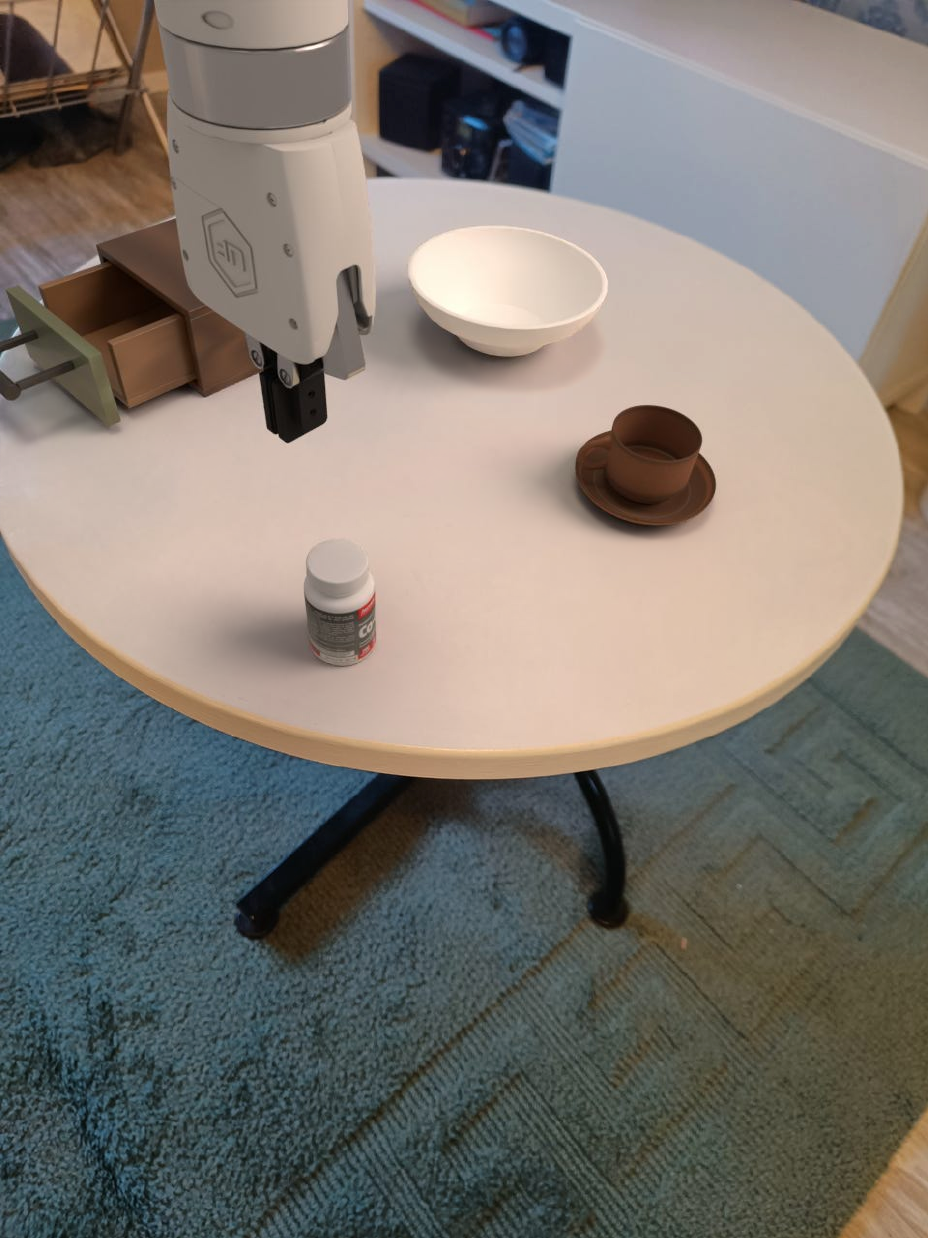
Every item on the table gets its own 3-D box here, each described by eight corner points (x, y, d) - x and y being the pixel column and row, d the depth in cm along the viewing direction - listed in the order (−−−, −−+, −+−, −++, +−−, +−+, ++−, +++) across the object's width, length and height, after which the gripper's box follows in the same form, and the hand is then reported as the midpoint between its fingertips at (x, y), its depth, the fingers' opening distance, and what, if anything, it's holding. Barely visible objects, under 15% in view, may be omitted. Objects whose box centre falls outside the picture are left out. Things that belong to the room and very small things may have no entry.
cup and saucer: (616, 553, 70) (633, 496, 65) (547, 462, 77) (557, 404, 72) (737, 517, 74) (761, 461, 69) (661, 433, 80) (678, 376, 76)
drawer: (40, 457, 71) (13, 387, 66) (-37, 383, 77) (-68, 313, 72) (247, 364, 81) (238, 297, 76) (166, 304, 87) (152, 238, 82)
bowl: (629, 332, 91) (644, 270, 86) (528, 418, 80) (537, 354, 75) (478, 267, 98) (483, 206, 93) (366, 339, 87) (365, 275, 82)
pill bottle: (373, 669, 61) (371, 589, 54) (305, 666, 61) (296, 585, 54) (378, 617, 64) (377, 536, 57) (314, 614, 64) (305, 532, 57)
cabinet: (204, 397, 79) (188, 311, 73) (117, 329, 85) (95, 244, 79) (336, 336, 87) (332, 254, 80) (247, 278, 93) (237, 196, 86)
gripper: (80, 37, 37) (166, 395, 51) (308, 154, 31) (335, 523, 45) (223, 6, 41) (267, 347, 55) (451, 105, 35) (435, 460, 49)
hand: (297, 426), depth 50 cm, fingers closed
